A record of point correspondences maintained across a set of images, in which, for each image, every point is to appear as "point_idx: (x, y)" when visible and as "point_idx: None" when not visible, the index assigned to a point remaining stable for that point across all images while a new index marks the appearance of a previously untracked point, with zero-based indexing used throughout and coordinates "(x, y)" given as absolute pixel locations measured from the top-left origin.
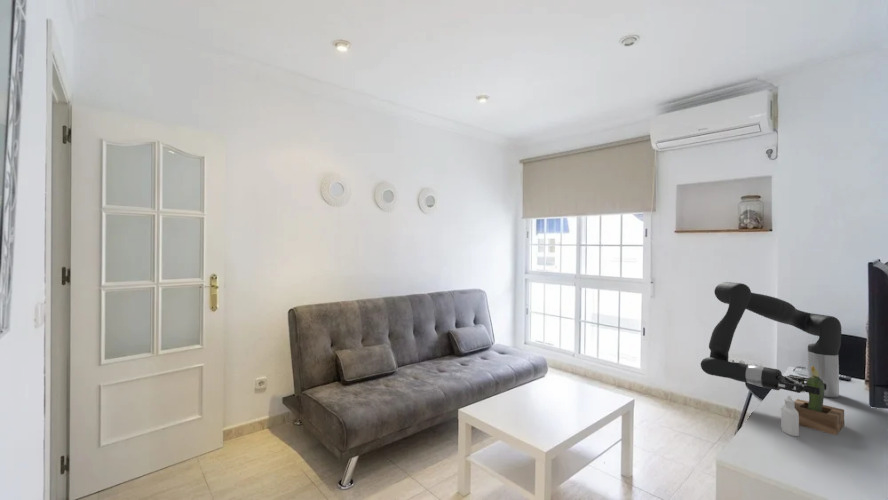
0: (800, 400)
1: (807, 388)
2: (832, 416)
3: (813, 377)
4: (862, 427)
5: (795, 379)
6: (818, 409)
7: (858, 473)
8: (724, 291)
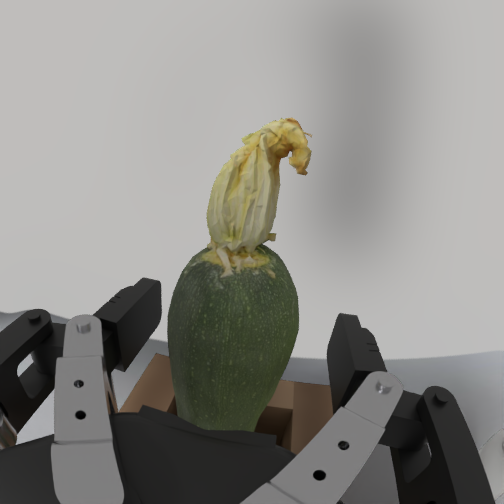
0: None
1: (384, 371)
2: (317, 393)
3: (268, 258)
4: (142, 364)
5: (121, 442)
6: None
7: (487, 369)
8: None
